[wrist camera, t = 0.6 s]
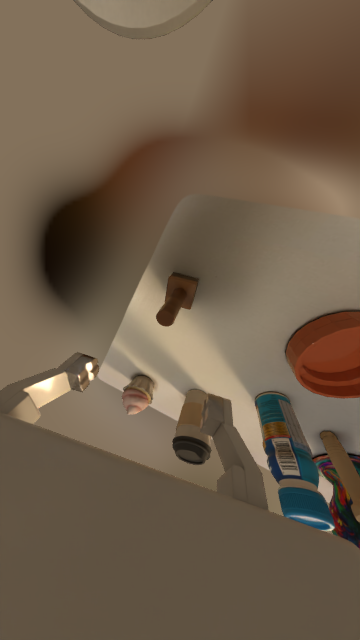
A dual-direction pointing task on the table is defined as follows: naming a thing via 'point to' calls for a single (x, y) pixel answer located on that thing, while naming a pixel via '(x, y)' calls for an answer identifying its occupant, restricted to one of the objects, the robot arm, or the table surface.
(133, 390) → the cupcake
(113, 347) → the table surface
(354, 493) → the handle
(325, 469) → the vase
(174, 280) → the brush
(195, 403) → the coffee cup
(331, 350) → the bowl
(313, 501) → the beverage bottle
